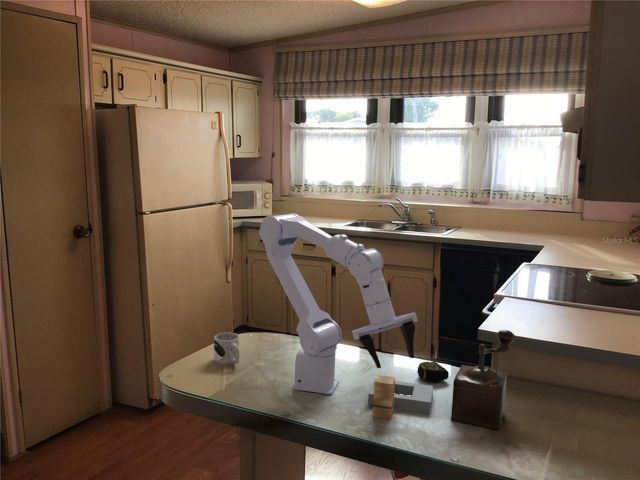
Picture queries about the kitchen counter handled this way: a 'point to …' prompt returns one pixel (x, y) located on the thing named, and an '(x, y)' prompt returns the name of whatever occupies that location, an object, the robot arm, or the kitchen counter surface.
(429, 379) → the tape measure
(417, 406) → the hole board
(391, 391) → the oak peg
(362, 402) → the kitchen counter surface
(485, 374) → the manual coffee grinder
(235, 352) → the mug
